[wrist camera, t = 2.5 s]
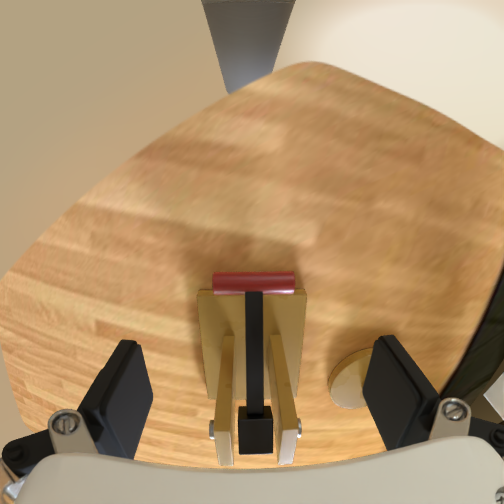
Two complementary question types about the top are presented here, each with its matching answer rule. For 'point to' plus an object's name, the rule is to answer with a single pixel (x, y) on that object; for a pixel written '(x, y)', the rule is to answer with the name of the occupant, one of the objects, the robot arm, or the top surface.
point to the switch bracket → (234, 364)
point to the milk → (497, 395)
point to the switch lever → (254, 351)
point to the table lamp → (350, 380)
